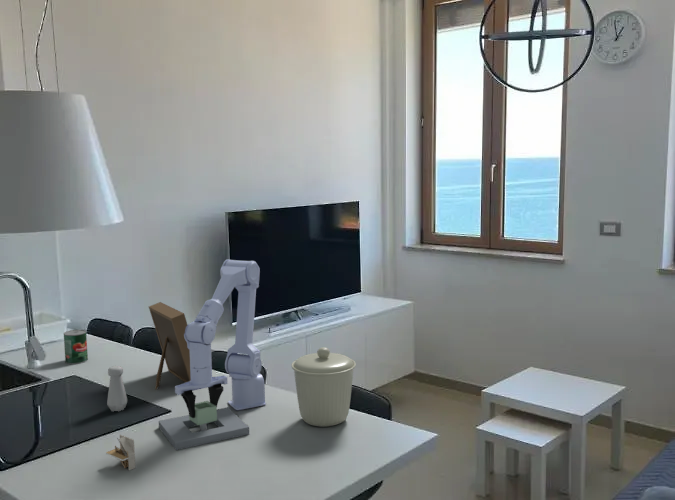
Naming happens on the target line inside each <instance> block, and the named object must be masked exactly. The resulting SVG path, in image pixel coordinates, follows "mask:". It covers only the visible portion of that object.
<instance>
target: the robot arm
mask: <svg viewBox="0 0 675 500" xmlns="http://www.w3.org/2000/svg"><path fill="white" fill-rule="evenodd" d="M260 269H261V268H260V266H259V265H258V263H257V262H256V261H255V260H236V259H227V258H226V259H225V260H224V261H223V263H222V265H221V267H220V272H219V273H220V279H219V282H218V284H217V286H216V288H215V290H214V293H213V295H212V297H211V299H207V300H205V301H204V304H203V305H202V306H201V309H200V310H199V312H198V314H197V315H196V317H195V318H194V321H191V322H190V323H187V327H186V329H185V334H184V338H185V340H186V342H187V348H188V349H189V350H190V375H191V381H189V382H186V383H185V382H183V383H181V384H178V385H175V386H174V393H175V395H178V396H179V395H180V396H181V398H182V399H183V400H184V403H185V405H186V408H187V410H188V415H189V416H190V417H192V418H195V403H196V397H197V395H195V394H194V392H193V391H198V390H202V389H207V390H208V395H209V396H208V397H209V402H210V403H212V404H214V405H215V406H217V407H218V404H219V400H220V398H221V396H222V394H223V392H224V386H223V385H227V384H228V376H229V377H230V378H231V397H232V400H228V401H227V404H229V406H231V408H233V409H234V410H235V411H243V410H247V409H248V410H249V409H251V408H252V409H253V408H257V407H261V406H262V407H263V406H266V405H267V403H266V391H265V390H266V388H265V387H266V386H265V380H264V377H263V375H262V374H261V371H262V366H263V365H262V363H263V362H262V358H261V350H259V348H257V347H256V346H255V345H254V343H253V341H254V327H255V315H256V314H255V312H256V297H257V295H256V294H257V289H258V288H259V287H260V285H259V284H260V273H261V271H260ZM234 289H236V290H237V293H238V295H237V307H236V308H237V309H236V327H235V341H234V342H235V343H234V344H233V345H232V346H230V347H229V348H228V349H227V353H226V358H225V361H224V369H225V371H226V373H227V374H228V376H226V375H219V376H213V364H212V361H213V360H212V359H213V358H212V343H213V341H214V340H215V337H216V330H217V325H218V322H219V321H220V319H221V317H222V315H223V313H224V311H225V308H224V303H225V302H226V300H227V299H228V298H229V296H230V295H231V293H232V292H233V290H234Z"/></svg>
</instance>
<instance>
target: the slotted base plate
mask: <svg viewBox="0 0 675 500" xmlns="http://www.w3.org/2000/svg"><path fill="white" fill-rule="evenodd" d="M212 423H214V424H215V425H216V426H217V427H215V428H207V427H208V424H212ZM198 426H199V430H198V431H194V432H192V431H191V430H190V429H189V428H192V427H198ZM158 428H159V430H160V431H161V433H162V434H163V436H164V437H165V438H166V439H167V440H168V442H169V443H170V444H171V445H172V447H173V448H174V450H176V451H179V450H184V449H188V448H193V447H196V446H201V445H206V444H207V445H208V444H211V443H215V442H219V441H223V440H228V439H233V438H238V437H242V436H248V435H250V426H249V425H248V424H246V423H245V422H244V421H243V420H242V419H241V418H240V417H239V416H238V415H236V414H235V412H233V411H232V410H231V409H230V408H229V407H223V408H217V421H213V422H209V423H205V424H202V425H197V424H195V423H194V422H192V421H191V420H190V419H189V414H187V415H181V416H176V417H172V418H165V419H161V420H158ZM183 448H184V449H183ZM178 449H179V450H178Z"/></svg>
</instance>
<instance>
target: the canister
mask: <svg viewBox="0 0 675 500" xmlns="http://www.w3.org/2000/svg"><path fill="white" fill-rule="evenodd" d="M330 351H331V350H330V349H329V348H328V347H323V346H322V347H319V348H318V349H317V352H315V353H314V352H313V353H308V354H305V355H302V356H300V357H298V358H297V359H295V360H294V361H292V362H291V369H292V370H293V373H294V382H295V388H296V396H297V403H298V409H299V414H300V417H301V418H302V420H303V421H304V422H305V423H306V424H308V425H309V426H310V425H311V426H315V427H333V426H334V427H335V426H337V425H340V424H342V423H344V422H345V421H346V420H347V417H348V416H349V412H350V405H351V398H352V389H353V378H354V377H353V376H354V369H355V368H356V365H357V363H356V361H355V360H354V359H352V358H350V357H349V356H347V355H344V354H342V353H337V352H330Z"/></svg>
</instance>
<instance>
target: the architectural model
mask: <svg viewBox="0 0 675 500" xmlns="http://www.w3.org/2000/svg"><path fill="white" fill-rule="evenodd" d="M116 439H117V440H118V443H119V446H120V447H117V445H115V446H114V449H112V450H109V451H106V452H105V455H108V456H111V457H112V458H115V459H117V460H120V462H121V465H122V466H123V468H124V469H127V468H128V471H131V470H133V469H136V455H135V454H136V453H135V451H136V450H135V440H134V439H133V438H130V437H128V436H125V435H123V434H119V438H118V437H116Z"/></svg>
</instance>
